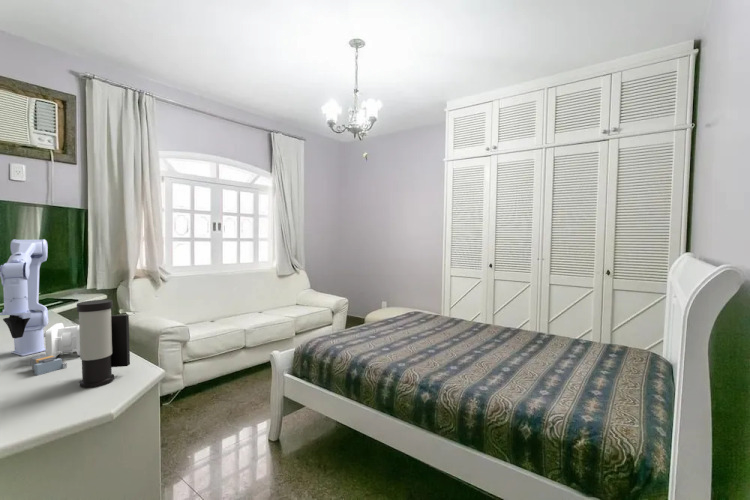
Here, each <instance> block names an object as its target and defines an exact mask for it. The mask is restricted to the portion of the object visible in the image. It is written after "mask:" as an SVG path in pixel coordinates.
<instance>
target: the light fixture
mask: <svg viewBox="0 0 750 500" xmlns="http://www.w3.org/2000/svg"><path fill="white" fill-rule="evenodd" d="M113 308H114V307H113V300H112V299H94V300H85V301H81V302H77V303H76V312H78V325H79V333H80V355H79V356H80V357H79V358H80V360H81V374H82V375H81V380H80V381H79V387H80V388H82V389H93V388H98V387H102V386H106V385H108V384H110V383H112V382H113V381H115V374H113V373H112V368H119V367H120V368H123V367H129V365H131V359H130V358H131V355H130V353H131V352H130V351H131V350H130V349H131V348H130V324H129V323H130V321H129V320H130V319H129V316H130V315H129V314H112V309H113Z"/></svg>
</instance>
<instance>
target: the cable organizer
mask: <svg viewBox="0 0 750 500" xmlns="http://www.w3.org/2000/svg"><path fill="white" fill-rule="evenodd" d="M44 347H45V348H46V351H45V355H50V356H54V357H55V359H57V357H58V356H59V355H61V356H63V353H66V352H67V353H68V352H71V353H72V354H74V352H75V353H76V354H77V356H80V333H79V324H78V325H74V326H73V325H72V326H64V324H63V322H59V323H58V322H57V323H55V324H53V325H52V326H51V327H49V328H48V329H47V330H46V331H44Z"/></svg>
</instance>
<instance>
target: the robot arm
mask: <svg viewBox="0 0 750 500" xmlns="http://www.w3.org/2000/svg"><path fill="white" fill-rule="evenodd" d="M9 246H10V253H11V255H10V256H9V258H8V259H7V261H6V262H5V263H3V264H1V265H0V281H1V286H2V287H3V288H2V289H3V309H2V312H0V316H8V317H4V318H2V321H3V322H4V323H5V324H6V326H7V327H8V330H9V333H10V335H11V338H12V339H13V345H14V346H13V347H14V350H13V351H10V352H11V354H15V355H17V356H22V357H23V356H29V355H32V354H38V353H41V352H46V346H45V337H44V333H45V331H44V328H45V327H47V326H48V324H49V310H48V308H47V306H45V305H43V304H42V303H39V299H40V297H39V296H40V295H39V293H40V268H41V265H42V263H44V262H47V259H48V253H49V252H48V249H49V248H48V246H49V245H48V241H47V240H46V239H44V238H43V239H12V240H11V241H10V245H9Z"/></svg>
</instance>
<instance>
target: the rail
mask: <svg viewBox="0 0 750 500" xmlns="http://www.w3.org/2000/svg"><path fill="white" fill-rule="evenodd" d="M39 356H40V355H39ZM39 356H37V357H39ZM67 365H68V364H67V362H64V361H62V369H66V368H67V367H68V366H67Z"/></svg>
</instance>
